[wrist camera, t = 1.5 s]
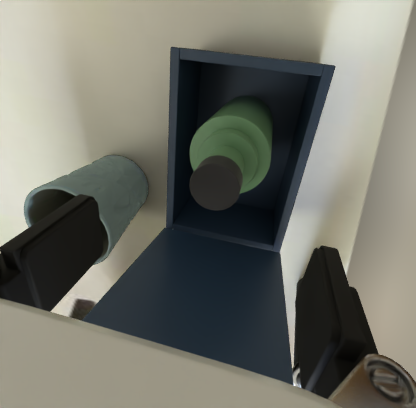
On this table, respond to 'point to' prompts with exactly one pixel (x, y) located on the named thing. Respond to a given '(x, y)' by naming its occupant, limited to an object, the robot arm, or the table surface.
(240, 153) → the water bottle
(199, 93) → the box
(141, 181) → the green tapered pot
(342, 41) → the table surface
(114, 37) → the table surface
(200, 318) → the lid
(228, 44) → the table surface
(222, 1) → the table surface
